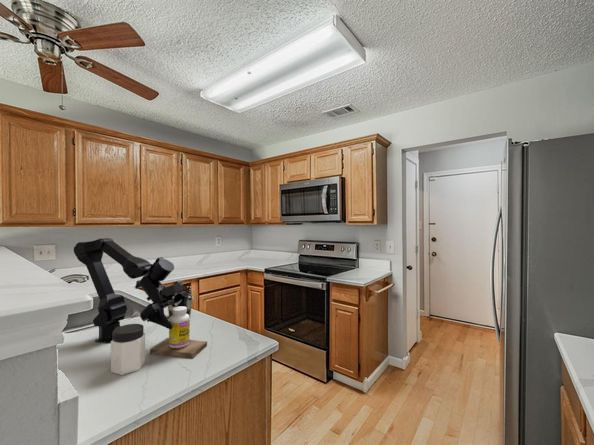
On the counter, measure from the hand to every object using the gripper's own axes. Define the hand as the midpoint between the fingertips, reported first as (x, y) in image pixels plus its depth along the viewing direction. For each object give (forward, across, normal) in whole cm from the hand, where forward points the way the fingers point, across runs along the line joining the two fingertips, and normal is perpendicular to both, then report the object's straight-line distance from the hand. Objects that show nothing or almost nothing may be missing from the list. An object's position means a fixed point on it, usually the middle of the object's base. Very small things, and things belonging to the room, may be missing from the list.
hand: (180, 323), depth 96 cm
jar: (+1, -14, +12) cm, 19 cm away
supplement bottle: (+5, 0, +6) cm, 8 cm away
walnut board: (+6, 0, +7) cm, 9 cm away
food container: (-9, +29, +22) cm, 37 cm away
